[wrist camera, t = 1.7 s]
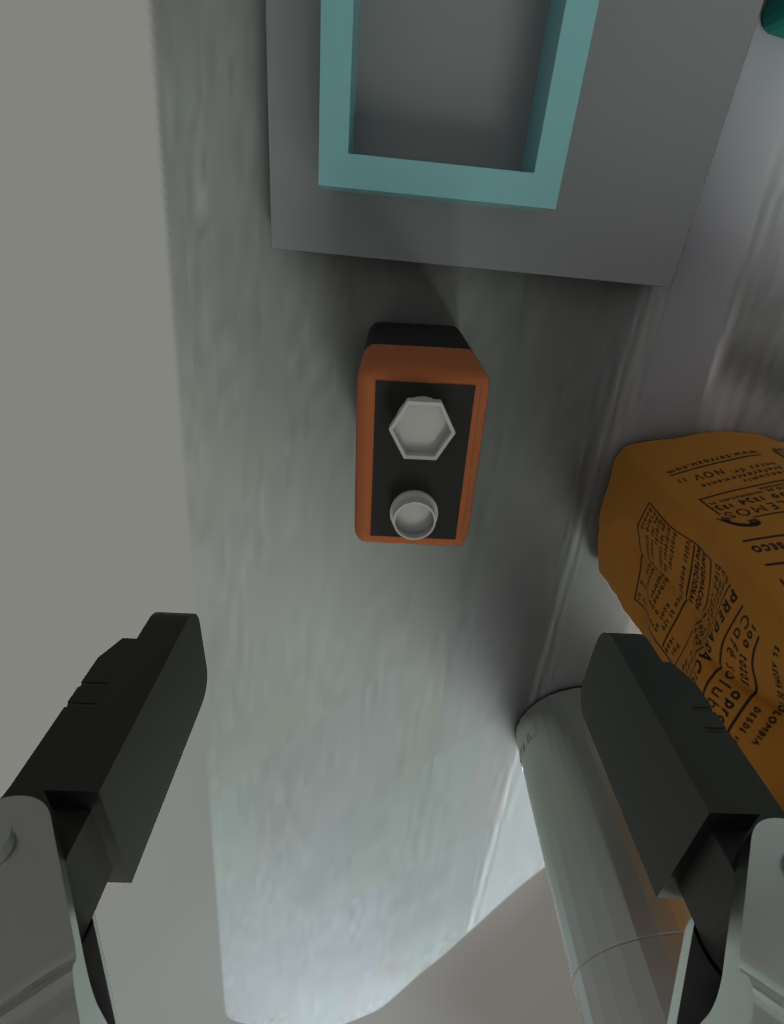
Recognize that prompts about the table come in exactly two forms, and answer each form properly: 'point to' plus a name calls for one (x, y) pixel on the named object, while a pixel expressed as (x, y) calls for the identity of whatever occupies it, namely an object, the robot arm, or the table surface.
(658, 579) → the coffee package
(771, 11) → the digital multimeter
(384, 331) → the battery
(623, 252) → the plate
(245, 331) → the table surface
